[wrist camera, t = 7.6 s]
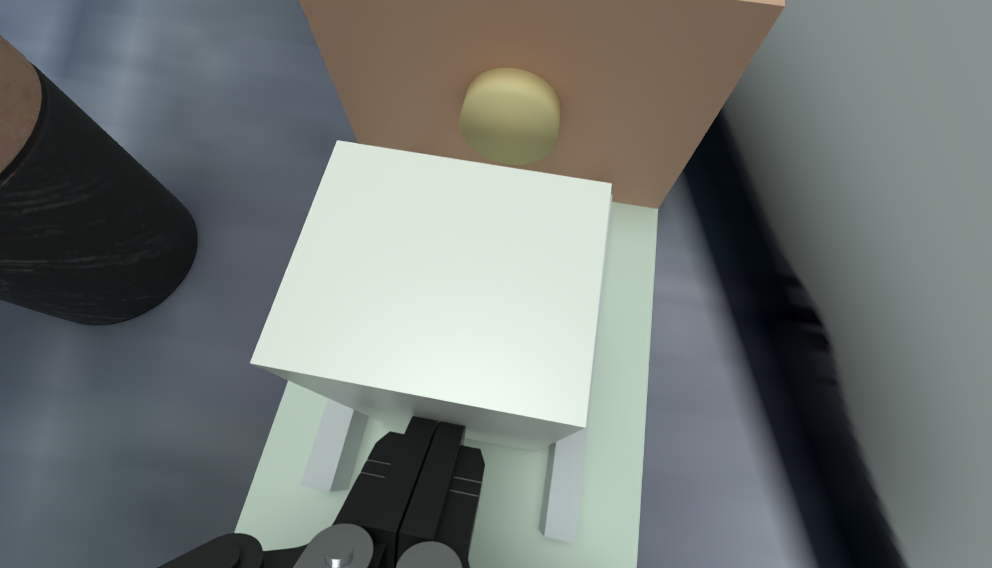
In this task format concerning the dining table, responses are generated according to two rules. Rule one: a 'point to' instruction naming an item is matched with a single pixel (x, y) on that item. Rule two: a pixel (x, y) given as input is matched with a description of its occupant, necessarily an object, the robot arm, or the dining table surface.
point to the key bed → (504, 463)
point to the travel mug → (79, 210)
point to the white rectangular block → (445, 294)
